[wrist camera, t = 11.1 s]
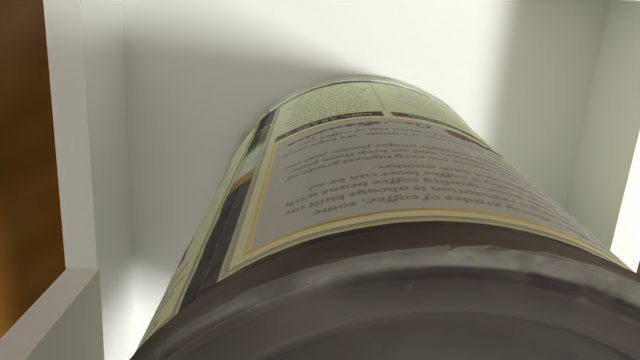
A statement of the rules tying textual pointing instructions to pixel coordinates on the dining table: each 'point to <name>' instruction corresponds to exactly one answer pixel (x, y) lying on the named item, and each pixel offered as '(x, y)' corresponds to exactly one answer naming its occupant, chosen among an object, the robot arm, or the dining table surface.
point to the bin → (309, 68)
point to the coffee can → (387, 246)
